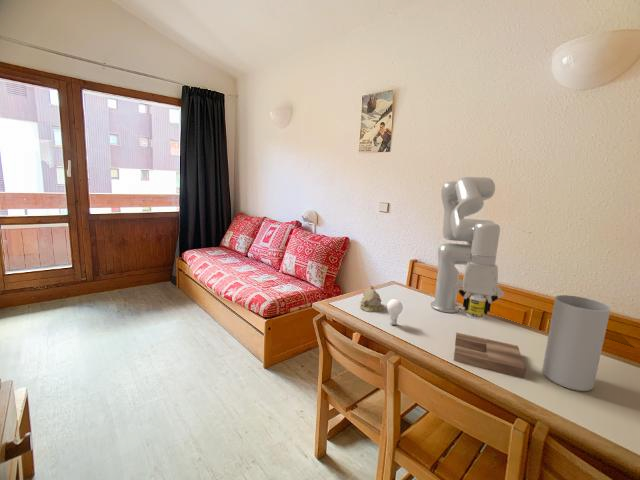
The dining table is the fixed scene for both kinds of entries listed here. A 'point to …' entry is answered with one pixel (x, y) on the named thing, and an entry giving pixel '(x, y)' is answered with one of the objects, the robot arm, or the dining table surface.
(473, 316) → the supplement bottle
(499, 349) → the notched board
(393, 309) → the lightbulb
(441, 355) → the dining table surface
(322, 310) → the dining table surface
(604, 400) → the dining table surface
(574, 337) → the cylinder vase
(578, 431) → the dining table surface
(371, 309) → the ceramic model
